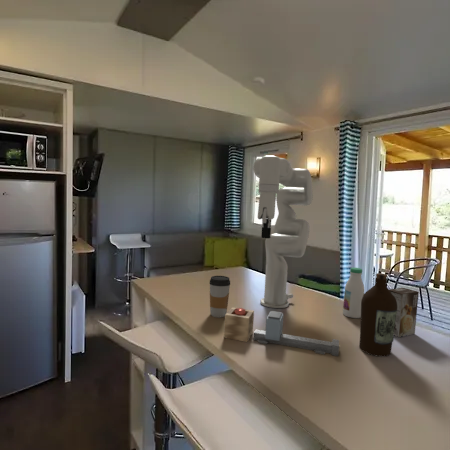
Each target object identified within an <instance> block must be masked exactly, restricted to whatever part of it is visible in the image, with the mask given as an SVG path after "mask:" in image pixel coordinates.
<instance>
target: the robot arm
mask: <svg viewBox="0 0 450 450" xmlns="http://www.w3.org/2000/svg"><path fill="white" fill-rule="evenodd" d="M252 169H253V173H254V175H255V176H256V177H257V178H258V179H259V180H258V194H260V195H259V199H258V209H257V219H258V220H261V236H260V237H261V239H265V242H264V243H265V244H264V246H265V247H264V248H265V257H266V258H265V259H266V260H265V278H264V279H265V280H264V294H263V297H262V298H261V299H260V304H261V305H262V306H264V307H267V308H271V309H285V308H287V307H289V306H290V302H289V301H288V300H289V299H292V298H294V295H293V293H287V286H288V285H287V284H288V268H289V267H288V263H287V261H286V259H285V257H290V258H302V257H303V256H304V255H305V253H306V248H307V244H308V240H309V236H310V224H309V222H308V220H306V219H301V218H297V213H296V211H295V210H294V209H293V208H292V207H291V206H302V207H303V206H304V207H305V206H307V207H308V206H310V205H312V202H313V200H314V199H313V198H314V193H313V191H314V190H313V181H312V174H311V172H310V170H309V169H307V168H293V167H291V163H290V162H289V160H288V159H286V158H284V157H279V156H275V155H264V156H262V157H259V158H257V159H255V161H254V162H253V168H252ZM280 185H282V186H284V187H281V188H280ZM276 208H277V211H278V215H277V218H276V221H275V223H274V227H273V233H272V220H273V219H274V218H275V214H276Z"/></svg>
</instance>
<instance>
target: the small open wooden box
mask: <svg viewBox="0 0 450 450" xmlns="http://www.w3.org/2000/svg"><path fill="white" fill-rule="evenodd" d="M236 308H237V307H231V308H230V309H229V310H227V313H226V314H225V316H224V331H223V333H224V334H223V338H224V339H229V340H235V341H240V342H246V343H247V342H249V339H250V338H251V336H252V335H253V334H254V317H255V310H252V309H245V308H244V309H245V316H241V315H235V309H236Z"/></svg>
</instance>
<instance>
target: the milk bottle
mask: <svg viewBox="0 0 450 450" xmlns="http://www.w3.org/2000/svg"><path fill="white" fill-rule="evenodd" d="M349 271H350V272H349V273H350V275H349V278H348V280H346V283H345V286H344V297H343V307H342V308H343V309H342V313H343V315H344V316H346V317H347V318H351V319H361V300H362V297H363V295H364V294H365V285H364V282H363V278H362V275H363V269H362V268H360V267H351V268H350V269H349Z"/></svg>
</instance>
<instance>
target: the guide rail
mask: <svg viewBox="0 0 450 450" xmlns="http://www.w3.org/2000/svg"><path fill="white" fill-rule="evenodd" d="M265 333H266V330H264V329H263V330H262V329H257V328H256V329H255V330H253V338H252V339H253V341H258V342H257V343H259V344H264V345H268V344H269V343H271V344H274V345H281V346H286V347H291V348H292V347H293V348H298V349H303V350H309V351H314V353H315V354H319V355H326V354H330V355H331V356H334V357H339V352H340V340H339V339H338V338H337V339H335V338H332V340H331V341H329V340H328V341H327V340H321V339H316V338H309V337H304V336H297V335H293V334H286V333H282V334H281V335H280V340H279V341H277V340H271V339H266V336H265Z"/></svg>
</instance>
